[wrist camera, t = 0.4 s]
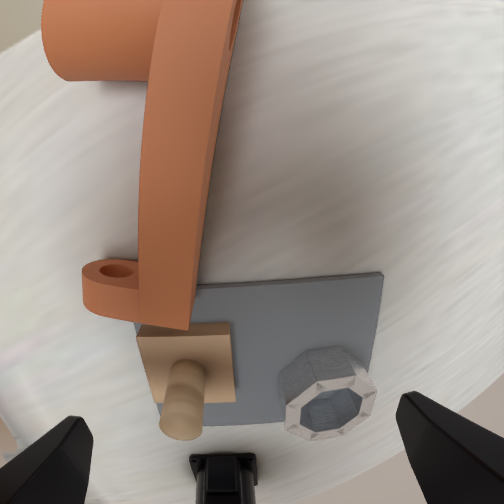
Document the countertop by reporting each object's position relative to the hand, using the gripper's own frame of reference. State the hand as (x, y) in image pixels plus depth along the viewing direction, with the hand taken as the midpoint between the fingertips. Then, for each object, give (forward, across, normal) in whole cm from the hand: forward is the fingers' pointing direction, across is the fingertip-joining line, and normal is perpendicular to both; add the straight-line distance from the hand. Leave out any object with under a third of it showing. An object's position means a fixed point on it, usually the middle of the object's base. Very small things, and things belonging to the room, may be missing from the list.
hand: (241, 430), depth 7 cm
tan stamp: (+13, +4, +7) cm, 15 cm away
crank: (+13, +4, -9) cm, 16 cm away
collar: (+13, -6, +10) cm, 17 cm away
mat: (+13, -1, +8) cm, 16 cm away
